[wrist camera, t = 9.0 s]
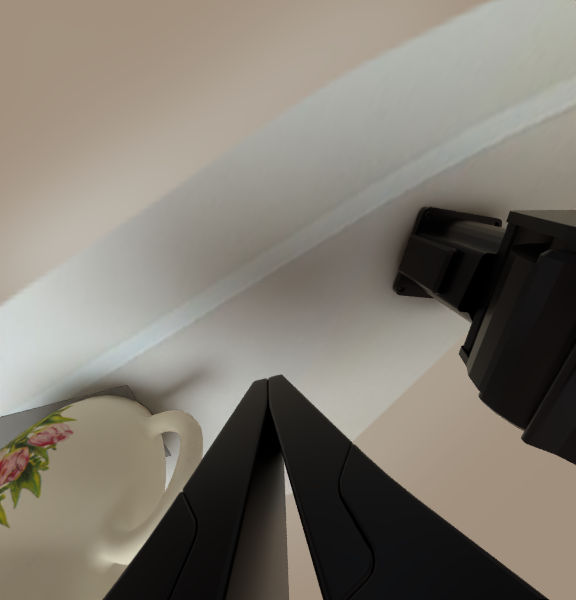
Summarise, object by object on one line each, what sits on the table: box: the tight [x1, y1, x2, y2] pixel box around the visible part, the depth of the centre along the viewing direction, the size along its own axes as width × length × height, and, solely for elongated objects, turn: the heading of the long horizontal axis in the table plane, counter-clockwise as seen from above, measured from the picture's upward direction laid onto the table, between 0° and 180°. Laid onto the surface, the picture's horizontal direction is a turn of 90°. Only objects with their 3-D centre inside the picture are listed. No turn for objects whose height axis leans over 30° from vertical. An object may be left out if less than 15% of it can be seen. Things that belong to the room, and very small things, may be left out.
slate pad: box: [0, 385, 171, 457], centre depth 23 cm, size 12×9×1 cm
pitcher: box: [0, 395, 203, 600], centre depth 16 cm, size 11×18×14 cm, turn 120°
